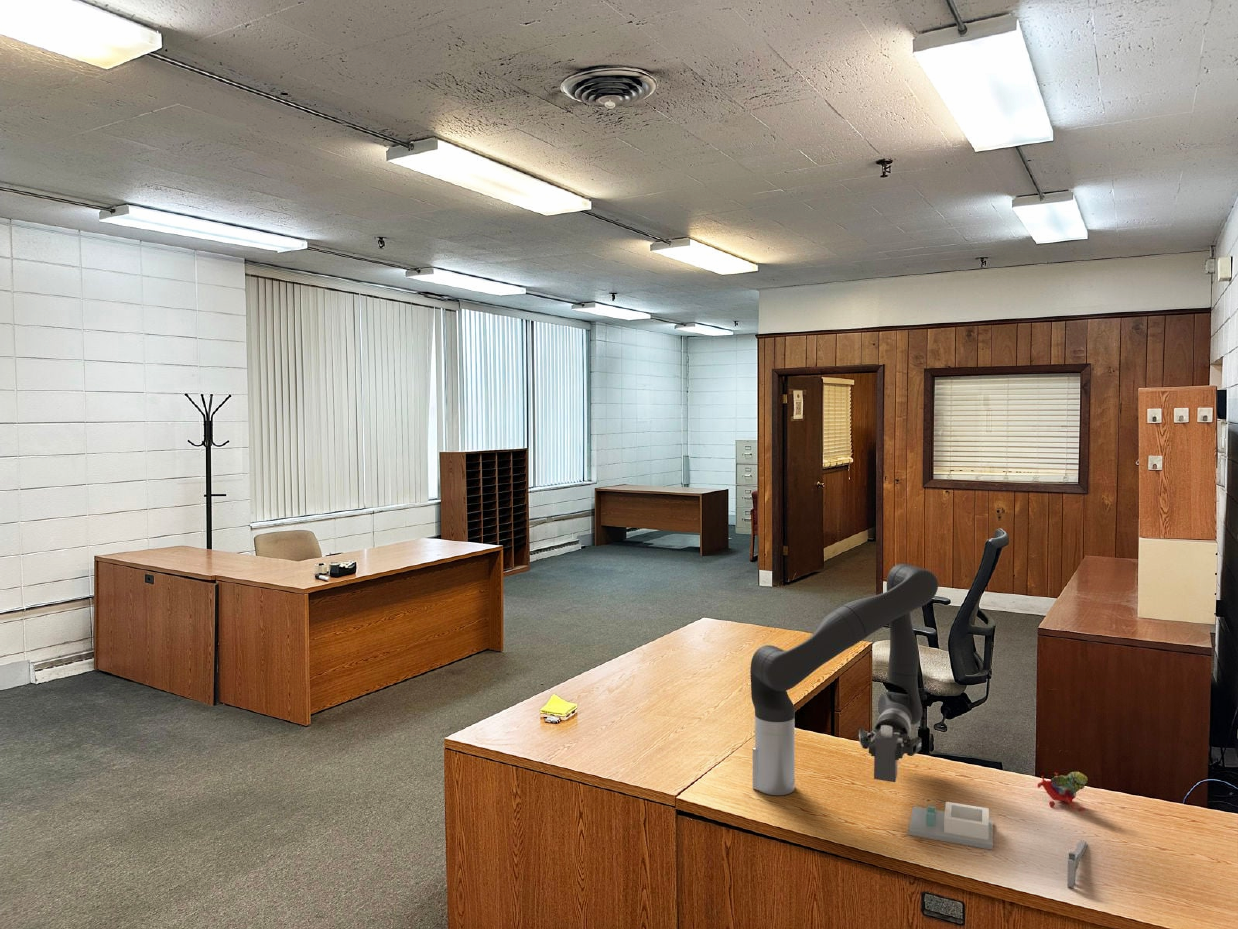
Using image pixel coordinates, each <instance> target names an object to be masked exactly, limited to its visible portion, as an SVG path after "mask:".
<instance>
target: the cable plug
mask: <svg viewBox="0 0 1238 929" xmlns="http://www.w3.org/2000/svg"><path fill="white" fill-rule="evenodd" d="M897 745H898V734H892V727H891V726H888V725H882V726H881V732H878V731H877V733H876V736H875V757H874V756H873V758H874V759H873V779H874V780H878V781H884V782H889V783H896V782H897V777H898V762H899V760H895V750H896V748H897Z"/></svg>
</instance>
